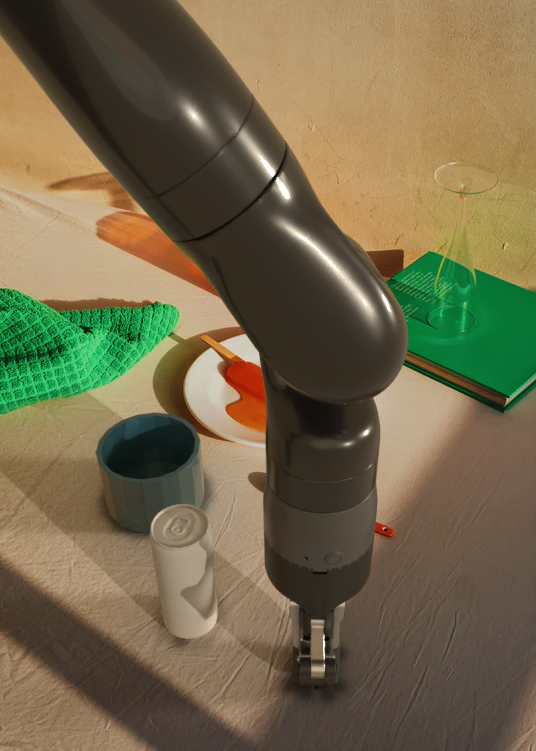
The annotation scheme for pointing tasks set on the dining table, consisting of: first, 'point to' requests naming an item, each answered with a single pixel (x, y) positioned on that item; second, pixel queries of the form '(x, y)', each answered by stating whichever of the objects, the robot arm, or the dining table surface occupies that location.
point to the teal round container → (149, 468)
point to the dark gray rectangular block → (296, 650)
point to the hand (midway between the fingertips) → (313, 663)
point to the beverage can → (185, 570)
